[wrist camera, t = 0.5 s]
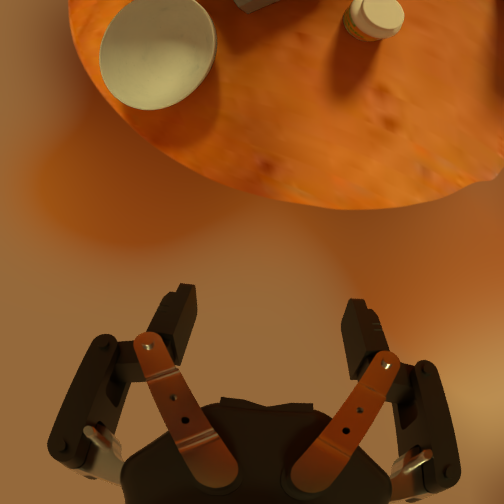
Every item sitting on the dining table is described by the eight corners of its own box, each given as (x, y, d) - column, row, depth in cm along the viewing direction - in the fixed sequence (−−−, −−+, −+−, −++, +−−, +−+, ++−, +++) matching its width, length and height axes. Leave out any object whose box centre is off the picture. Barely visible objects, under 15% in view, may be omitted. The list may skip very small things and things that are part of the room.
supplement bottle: (333, 14, 22) (342, -2, 14) (367, -1, 19) (388, -20, 12) (359, 48, 24) (378, 44, 17) (393, 33, 21) (421, 26, 14)
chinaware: (166, 118, 35) (138, 133, 29) (117, 46, 27) (82, 51, 21) (256, 61, 28) (242, 62, 22) (196, -18, 20) (170, -31, 15)
